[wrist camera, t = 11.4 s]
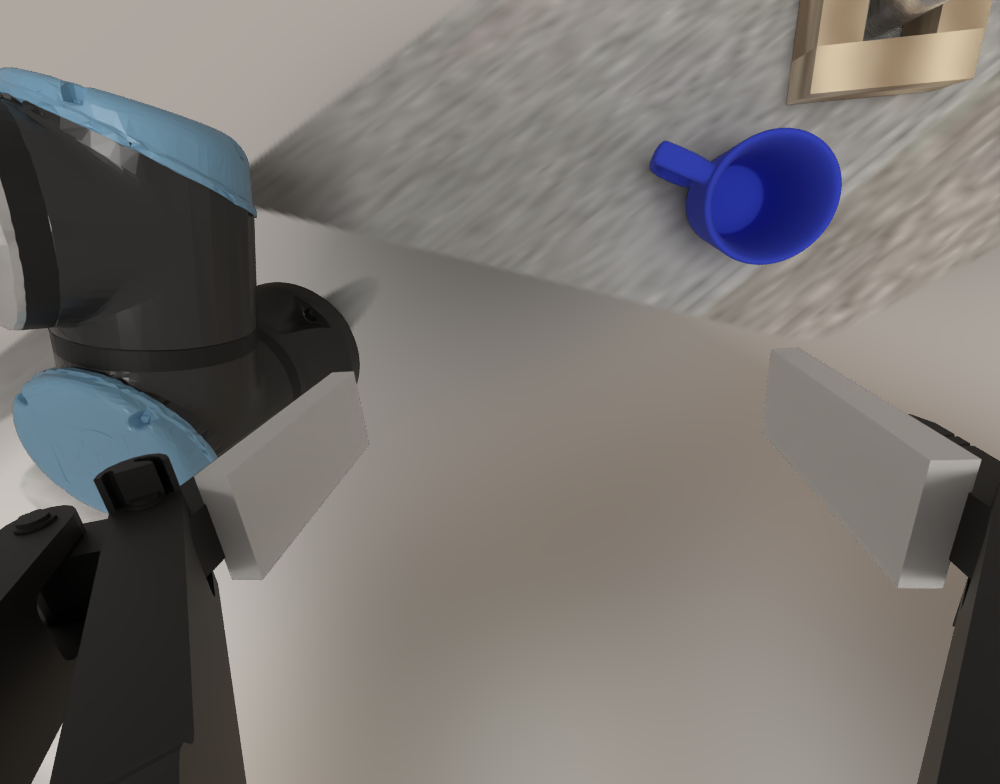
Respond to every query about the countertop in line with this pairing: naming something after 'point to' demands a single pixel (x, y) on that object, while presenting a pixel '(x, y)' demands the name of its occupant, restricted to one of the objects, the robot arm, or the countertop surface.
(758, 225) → the mug
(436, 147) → the countertop surface
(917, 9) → the peg
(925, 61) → the hole block
